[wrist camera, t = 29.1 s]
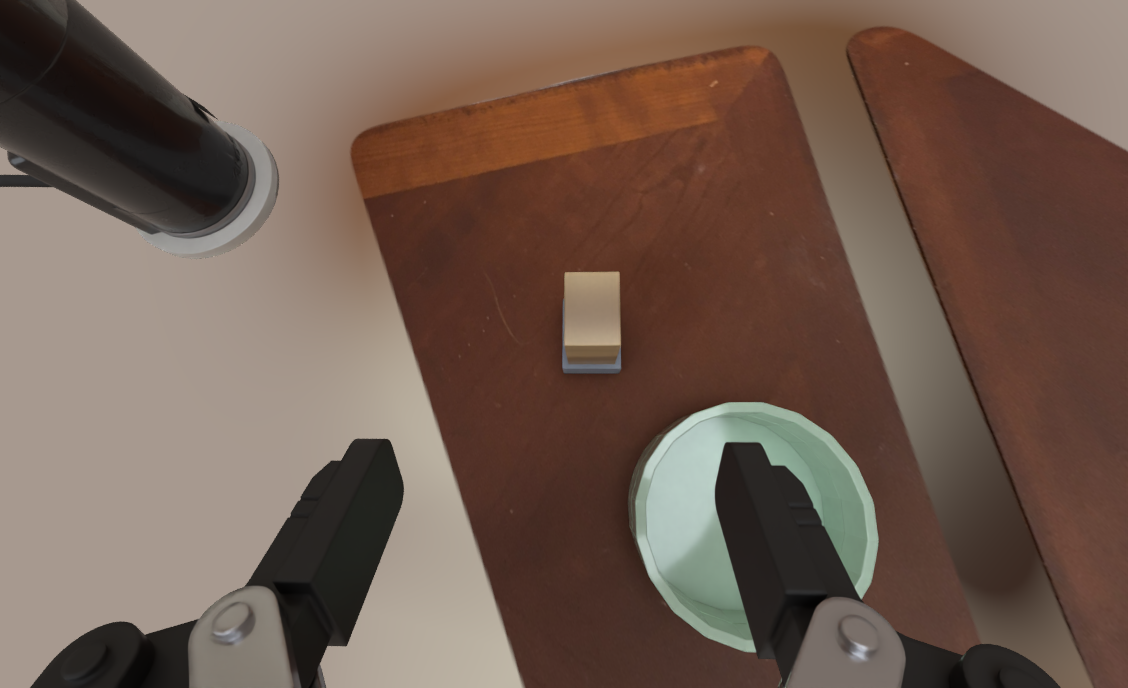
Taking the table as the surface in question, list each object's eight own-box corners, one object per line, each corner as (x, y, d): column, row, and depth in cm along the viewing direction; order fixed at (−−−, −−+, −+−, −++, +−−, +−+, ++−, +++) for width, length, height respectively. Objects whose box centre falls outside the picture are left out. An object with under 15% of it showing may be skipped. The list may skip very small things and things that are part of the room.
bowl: (668, 645, 30) (685, 687, 25) (601, 443, 33) (604, 442, 28) (862, 579, 30) (921, 607, 25) (779, 385, 33) (816, 372, 28)
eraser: (619, 373, 34) (628, 350, 26) (563, 373, 34) (556, 351, 26) (618, 306, 35) (626, 266, 27) (564, 307, 35) (557, 267, 28)
